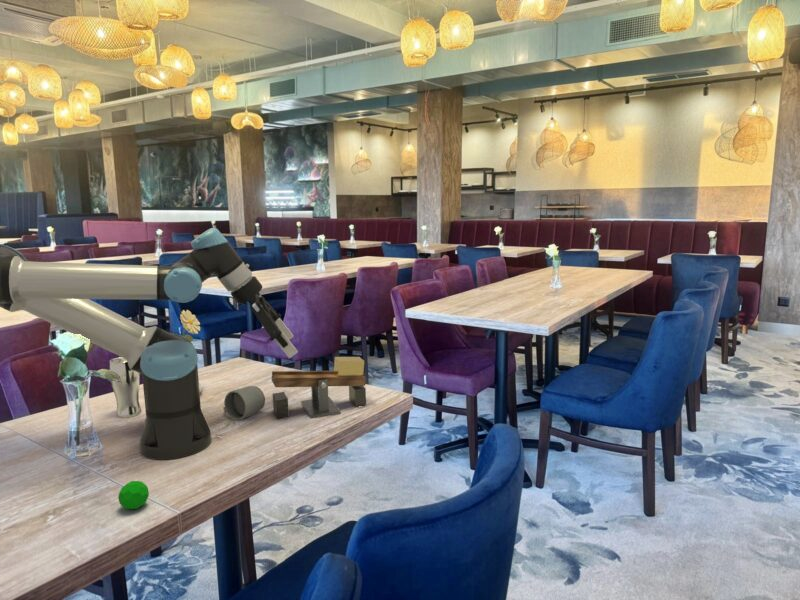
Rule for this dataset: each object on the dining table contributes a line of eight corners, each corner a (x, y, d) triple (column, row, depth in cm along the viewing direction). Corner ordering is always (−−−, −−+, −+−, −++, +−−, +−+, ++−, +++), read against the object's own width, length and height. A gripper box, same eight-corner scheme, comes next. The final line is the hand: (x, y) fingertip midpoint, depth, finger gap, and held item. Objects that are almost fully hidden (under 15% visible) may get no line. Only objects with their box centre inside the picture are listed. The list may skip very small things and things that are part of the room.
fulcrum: (279, 423, 141) (277, 388, 139) (271, 407, 152) (269, 375, 150) (369, 409, 149) (368, 376, 148) (356, 395, 160) (355, 364, 159)
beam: (275, 387, 142) (276, 378, 141) (271, 380, 148) (272, 371, 148) (365, 385, 151) (365, 377, 150) (358, 378, 157) (358, 370, 156)
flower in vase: (179, 405, 155) (171, 316, 151) (152, 398, 160) (144, 313, 156) (215, 391, 166) (209, 308, 162) (189, 386, 172) (183, 306, 167)
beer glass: (129, 407, 153) (123, 355, 151) (149, 410, 151) (144, 356, 149) (108, 416, 147) (102, 361, 144) (129, 419, 145) (123, 363, 142)
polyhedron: (146, 497, 105) (144, 473, 105) (152, 508, 102) (150, 483, 101) (117, 506, 103) (114, 482, 102) (122, 517, 99) (120, 492, 98)
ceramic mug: (268, 412, 149) (266, 384, 147) (246, 422, 141) (244, 393, 140) (238, 406, 154) (235, 379, 152) (215, 416, 146) (213, 388, 145)
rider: (337, 379, 149) (339, 361, 148) (333, 374, 153) (334, 356, 152) (362, 378, 151) (364, 360, 151) (357, 374, 155) (359, 356, 155)
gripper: (254, 285, 130) (307, 353, 137) (253, 266, 153) (299, 325, 160) (227, 304, 129) (282, 371, 136) (230, 282, 153) (277, 340, 160)
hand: (291, 346), depth 148 cm, fingers open, 13 cm apart
